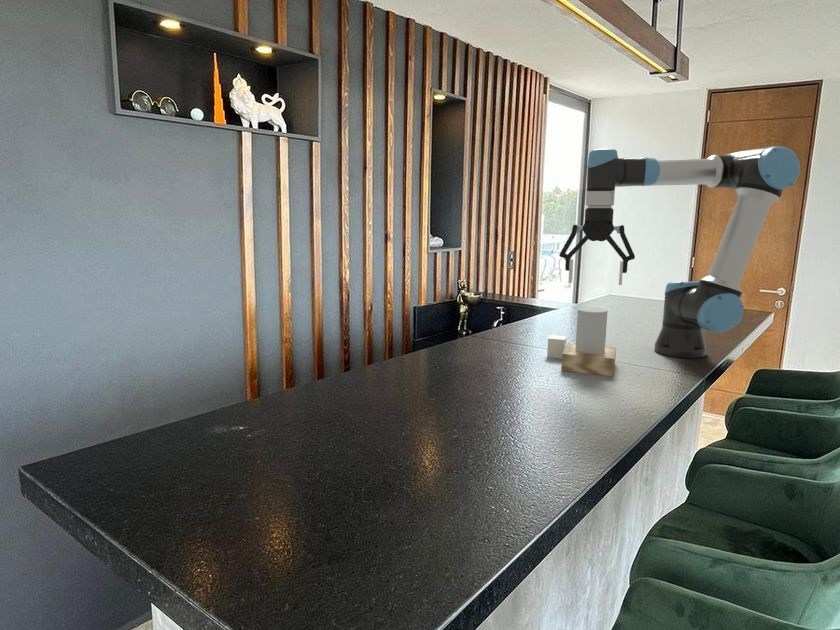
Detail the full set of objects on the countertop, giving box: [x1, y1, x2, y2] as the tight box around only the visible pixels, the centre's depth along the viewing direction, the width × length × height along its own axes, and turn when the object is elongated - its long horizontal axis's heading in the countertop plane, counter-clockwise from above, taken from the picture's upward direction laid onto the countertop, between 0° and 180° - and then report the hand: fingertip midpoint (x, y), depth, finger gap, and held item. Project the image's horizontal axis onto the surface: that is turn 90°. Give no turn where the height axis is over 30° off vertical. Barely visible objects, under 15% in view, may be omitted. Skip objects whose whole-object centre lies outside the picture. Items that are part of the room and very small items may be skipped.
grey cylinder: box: [575, 306, 608, 354], centre depth 167 cm, size 8×8×12 cm
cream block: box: [546, 334, 567, 360], centre depth 181 cm, size 5×5×6 cm
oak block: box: [561, 342, 617, 377], centre depth 169 cm, size 14×14×5 cm
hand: (594, 283), depth 165 cm, fingers open, 13 cm apart
